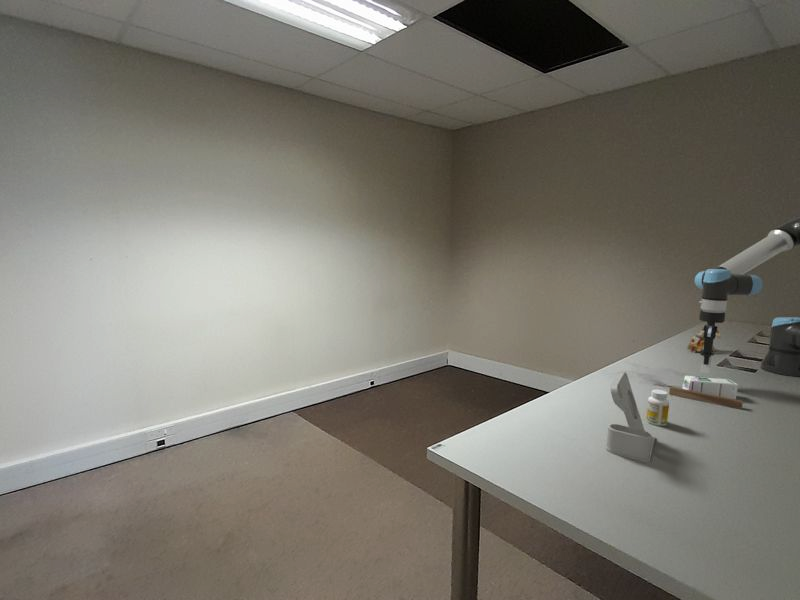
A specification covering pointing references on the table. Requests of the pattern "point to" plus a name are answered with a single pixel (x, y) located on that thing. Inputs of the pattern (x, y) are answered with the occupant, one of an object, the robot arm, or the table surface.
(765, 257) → the robot arm
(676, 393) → the walnut stop rail
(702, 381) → the syrup box
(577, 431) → the table surface
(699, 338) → the voxel character
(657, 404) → the supplement bottle
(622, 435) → the phone holder
